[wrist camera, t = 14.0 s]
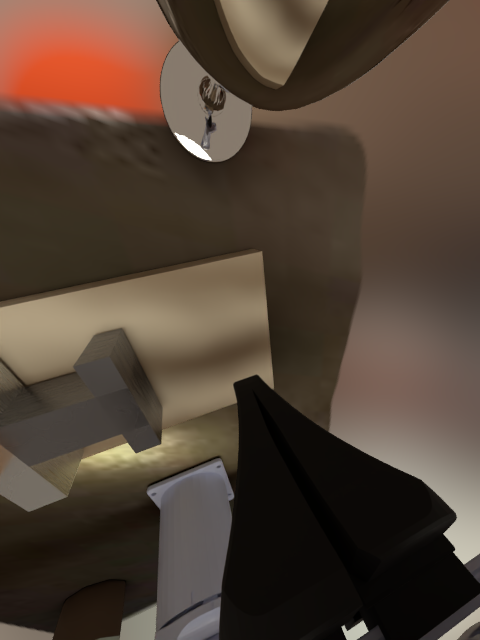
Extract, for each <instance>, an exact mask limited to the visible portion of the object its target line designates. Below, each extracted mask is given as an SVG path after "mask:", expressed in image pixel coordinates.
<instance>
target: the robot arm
mask: <svg viewBox="0 0 480 640" xmlns="http://www.w3.org/2000/svg"><path fill="white" fill-rule="evenodd" d="M233 387H234V391H235V395H236V399H237V405H238V418H239V451H238V469H237V480H236V491H235V500H234V508H233V515H232V514H231V509H230V504H229V500H231V499H233V498H234V493H233V490H232V488H231V485H230V482H229V479H228V476H227V474H226V471H225V468H224V465H223V462H222V460H221V459H220V458H217V459H214V460H212V461H209V462H207V463H205V464H202V465H200V466H197V467H195V468H193V469H190V470H188V471H185V472H183V473H180V474H178V475H176V476H173V477H171V478H168V479H166V480H164V481H161V482H159V483H156V484H154V485H151V486H149V487H148V489H147V494H148V495H149V497H150V498H151V499H152V500H153V501H154V503H155V504H156V505H157V506H158V507H159V509H160V535H159V562H158V589H157V617H156V632H155V640H346V637H345V635H344V633H343V630H342V628H341V627H342V626H343V625H345V627H346V629H347V631H348V630H350V629H351V628H352V627H354V626H355V625H357V624H358V623H360V622H361V621H364V623H365V624H366V627H367V629H368V631H369V632H367V633H366V634H364V635H363V636H362V637H360V638H359V639H357V640H437V639H439V638H440V637H441V636H443V635H444V634H445V633H447V632H448V631H449V630H450V629H452V628H453V627H454V626H456V625H457V624H458V623H459V622H461V621H462V620H463V619H465V618H466V617H467V616H468V615H470V614H471V613H472V612H474V611H475V610H476V609H478V608H479V607H480V554H479V555H477V556H476V557H474V558H473V559H472V560H470V561H469V562H467V563H466V564H464V565H463V563H462V562H461V561H460V560H459V559H458V558H457V556H456V555H455V554H454V553H453V551H455V548H454V546H453V545H452V544H451V543H450V541H449V540H448V539H447V538H446V537H445V536H444V534H443V533H444V532H445V531H446V530H447V529H448V528H449V527H450V526H451V525H452V524H453V523H454V522H455V520H456V518H457V517H456V513H455V512H454V511H453V510H452V509H451V508H450V507H449V506H448V505H447V504H446V503H445V502H444V501H443V500H442V499H441V498H440V497H439V496H438V495H437V494H436V493H435V492H434V491H433V490H432V489H431V488H429V487H428V486H427V485H426V484H425V483H424V482H423V481H422V480H420V479H418V478H416V477H414V476H412V475H409V474H407V473H405V472H403V471H401V470H398V469H396V468H394V467H392V466H390V465H388V464H386V463H383V462H382V461H380V460H378V459H376V458H374V457H372V456H370V455H368V454H366V453H364V452H362V451H361V450H359V449H357V448H355V447H353V446H352V445H350V444H348V443H346V442H344V441H343V440H341V439H339V438H337V437H336V436H334V435H333V434H331V433H329V432H328V431H326V430H325V429H323V428H322V427H320V426H319V425H317V424H316V423H314V422H313V421H311V420H310V419H308V418H307V417H306V416H304V415H303V414H302V413H300V412H299V411H298V410H296V409H295V408H294V407H292V406H291V405H290V404H289V403H288V402H286V401H285V400H284V399H283V398H282V397H280V396H279V395H278V394H277V393H276V392H275V391H274V390H273V389H272V388H270V387H269V386H268V385H267V384H266V383H265V382H264V381H263V380H262V379H261V377H260V376H259V375H257V374H256V375H254V376H251V377H248V378H245V379H242V380H239V381H236V382H234V384H233ZM457 640H480V622H478V623H476V624H474V625H473V626H471V627H470V628H469V629H468V630H466V631H465V632H464V633H463V634H462V635H461V636H460V638H459V639H457Z"/></svg>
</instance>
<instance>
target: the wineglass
mask: <svg viewBox="0 0 480 640" xmlns="http://www.w3.org/2000/svg"><path fill="white" fill-rule="evenodd" d="M156 1H157V3H158V5H159V7H160V9H161V11H162V13H163V14H164V16H165V18H166V20H167V22H168V24H169V25H170V27H171V28H172V30H173V32H174V33H175V35H176V36H177V38H178V39H179V41H178V42H177V43H176V44H175V45H174V46H173V47H172V48H171V50H170V51H169V53H168V54H167V56H166V59H165V61H164V64H163V67H162V71H161V77H160V98H161V104H162V108H163V112H164V116H165V119H166V121H167V123H168V126H169V128H170V130H171V132H172V134H173V135H174V137H175V138H176V140H177V141H178V143H179V144H180V145H181V146H182V147H183V148H184V149H185V150H186V151H187V152H188V153H190V154H191V155H193V156H194V157H196V158H197V159H200V160H202V161H205V162H211V163H218V162H224V161H226V160H228V159H230V158H232V157H233V156H234V155H235V154H237V153H238V152H239V150H240V149H241V148H242V146H243V145H244V143H245V141H246V139H247V136H248V133H249V130H250V126H251V119H252V106H253V107H256V108H259V109H265V110H270V111H283V110H291V109H297V108H301V107H303V106H306V105H309V104H311V103H315V102H317V101H320V100H322V99H324V98H326V97H328V96H329V95H332V94H333V93H335V92H337V91H339V90H341V89H343V88H345V87H347V86H348V85H350V84H351V83H353V82H354V81H356V80H357V79H359V78H360V77H362V76H363V75H364V74H366V73H367V72H369V71H370V70H371V69H372V68H374V67H375V66H376V65H378V64H379V63H380V62H381V61H382V60H384V59H385V58H386V57H387V56H388V55H389V54H391V53H392V52H393V51H394V50H395V49H397V48H398V47H399V46H400V45H401V44H402V43H404V42H405V41H406V40H407V39H408V38H409V37H410V36H412V35H413V34H414V33H415V32H416V31H417V30H418V29H419V28H421V27H422V26H423V25H424V24H425V23H426V22H427V21H428V20H429V19H430V18H432V17H433V16H434V15H435V14H436V13H437V12H438V11H439V10H440V9H441V8H442V7H443V6H444V5H445V4H446V3H447V2H448V1H449V0H156Z"/></svg>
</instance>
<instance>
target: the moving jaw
mask: <svg viewBox="0 0 480 640" xmlns="http://www.w3.org/2000/svg"><path fill="white" fill-rule="evenodd" d="M73 368H74V369H75V371H76V373H72V374H69V375H65V376H62V377H58V378H55V379H51V380H48V381H44V382H41V383H38V384H34V385H31V386H27V387H24V386H23V385H22V384H21V383H20V382H19V381H18V380H17V379H16V378H15V376H14V375H13V374H12V373H11V372H10V371H9V370H8V369H7V368H6V367H5V366H4V365H3V364H2V363H1V362H0V494H1V495H2V496H4V497H6V498H7V499H9V500H10V501H12V502H14V503H15V504H17V505H19V506H20V507H22V508H24V509H25V510H27V511H28V512H30V511H32V510H35V509H37V508H40V507H42V506H45V505H47V504H50V503H53V502H55V501H58V500H60V499H63V498H65V497H67V496H68V493H69V491H70V488H71V485H72V483H73V480H74V477H75V475H76V472H77V470H78V467H79V464H80V462H81V459H82V456H83V454H84V451H85V450H84V449H83V448H84V447H87V446H90V445H92V444H95V443H98V442H101V441H104V440H106V439H109V438H112V437H115V436H118V435H121V434H122V435H123V437H124V438H125V439H126V441H127V442H128V443H129V445H130V446H131V447H132V449H133V450H134V452H135V453H138V452H141V451H144V450H146V449H149V448H152V447H154V446H157V445H160V444H161V435H162V413H163V407H162V405H161V403H160V401H159V399H158V397H157V395H156V393H155V392H154V390H153V388H152V386H151V384H150V382H149V380H148V378H147V376H146V374H145V372H144V370H143V368H142V366H141V364H140V362H139V360H138V358H137V356H136V354H135V352H134V350H133V348H132V346H131V344H130V342H129V340H128V338H127V336H126V334H125V332H124V330H123V328H121V329H117V330H113V331H109V332H105V333H101V334H97V335H94V336H93V337H92V339H91V340H90V342H89V343H88V345H87V346H86V348H85V349H84V351H83V352H82V354H81V355H80V357H79V358H78V360H77V361H76V363H75V364H74V366H73Z"/></svg>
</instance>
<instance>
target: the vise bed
mask: <svg viewBox="0 0 480 640" xmlns="http://www.w3.org/2000/svg"><path fill="white" fill-rule="evenodd" d="M121 328H123V330H124V332H125V334H126V336H127V338H128V340H129V342H130V344H131V346H132V348H133V350H134V352H135V354H136V356H137V358H138V360H139V362H140V364H141V366H142V368H143V370H144V372H145V374H146V376H147V378H148V380H149V382H150V384H151V386H152V388H153V390H154V392H155V393H156V395H157V397H158V399H159V401H160V403H161V405H162V407H163V413H162V430H163V429H166V428H169V427H171V426H174V425H177V424H180V423H182V422H185V421H188V420H191V419H193V418H196V417H199V416H201V415H204V414H207V413H210V412H212V411H215V410H218V409H221V408H223V407H226V406H229V405H232V404H234V403H237V399H236V395H235V391H234V387H233V384H234V382H236V381H239V380H242V379H245V378H248V377H251V376H254V375H256V374H257V375H259V376H260V377H261V379H262V380H263V381H264V382H265V383H266V384H267V385H268V386H269V387H270V388H272V389H274V382H273V371H272V359H271V348H270V337H269V325H268V314H267V302H266V291H265V280H264V268H263V257H262V251H259V250H256V249H249V250H244V251H239V252H235V253H230V254H225V255H220V256H215V257H211V258H206V259H201V260H196V261H192V262H187V263H182V264H177V265H173V266H168V267H163V268H158V269H153V270H149V271H144V272H139V273H134V274H130V275H125V276H120V277H115V278H111V279H106V280H101V281H96V282H91V283H87V284H82V285H77V286H72V287H68V288H63V289H58V290H53V291H49V292H44V293H39V294H34V295H29V296H25V297H20V298H15V299H10V300H6V301H1V302H0V362H1V363H2V364H3V365H4V366H5V367H6V368H7V369H8V370H9V371H10V372H11V373H12V374H13V375H14V376H15V378H16V379H17V380H18V381H19V382H20V383H21V384H22V385H23V386H24V387H27V386H31V385H34V384H38V383H41V382H44V381H48V380H51V379H55V378H58V377H62V376H65V375H69V374H72V373H76V371H75V369H74V368H73V366H74V364H75V363H76V361H77V360H78V358H79V357H80V355H81V354H82V352H83V351H84V349H85V348H86V346H87V345H88V343H89V342H90V340H91V339H92V337H93V336H94V335H97V334H101V333H105V332H109V331H113V330H117V329H121ZM125 443H127V441H126V439H125V438H124V437H123V435H122V434H121V435H118V436H115V437H112V438H109V439H106V440H104V441H101V442H98V443H95V444H92V445H90V446H87V447H84V448H83V449H84V450H85V451H84V454H83V456H82V459H84V458H86V457H89V456H92V455H95V454H97V453H100V452H103V451H106V450H108V449H111V448H114V447H117V446H119V445H122V444H125Z"/></svg>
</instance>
